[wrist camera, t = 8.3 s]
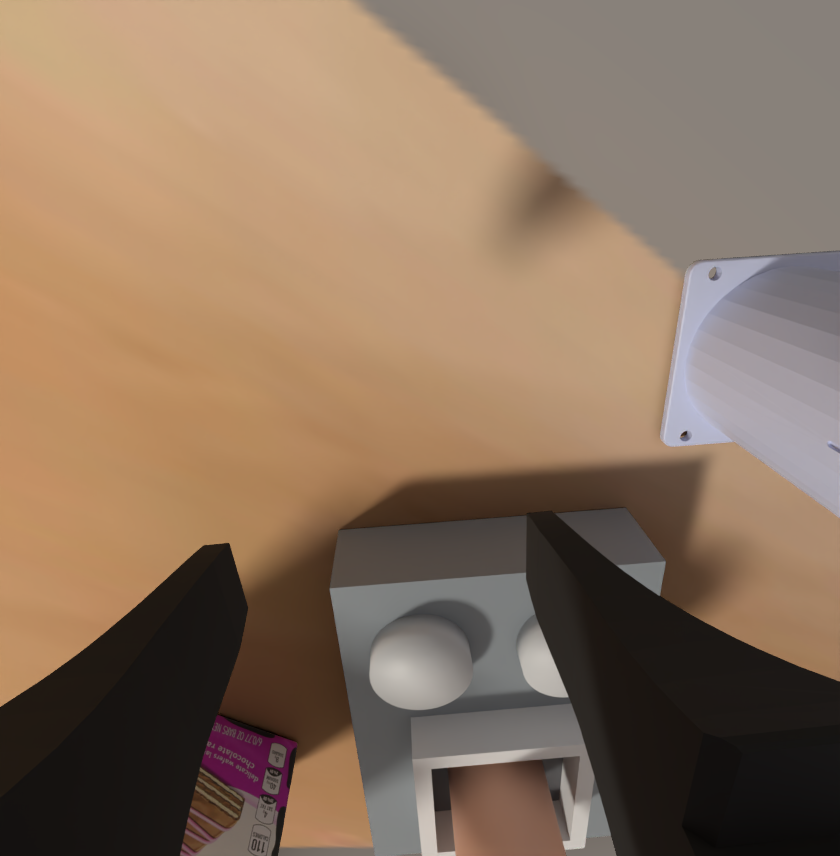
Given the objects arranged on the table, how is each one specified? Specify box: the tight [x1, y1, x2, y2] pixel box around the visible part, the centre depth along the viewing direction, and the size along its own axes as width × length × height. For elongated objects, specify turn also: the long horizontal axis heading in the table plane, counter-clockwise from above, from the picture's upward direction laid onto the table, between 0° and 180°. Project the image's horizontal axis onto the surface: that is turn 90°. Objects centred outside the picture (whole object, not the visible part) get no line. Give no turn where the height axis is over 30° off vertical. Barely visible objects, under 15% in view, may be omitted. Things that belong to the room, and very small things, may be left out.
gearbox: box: [330, 508, 666, 856], centre depth 26 cm, size 14×20×6 cm
